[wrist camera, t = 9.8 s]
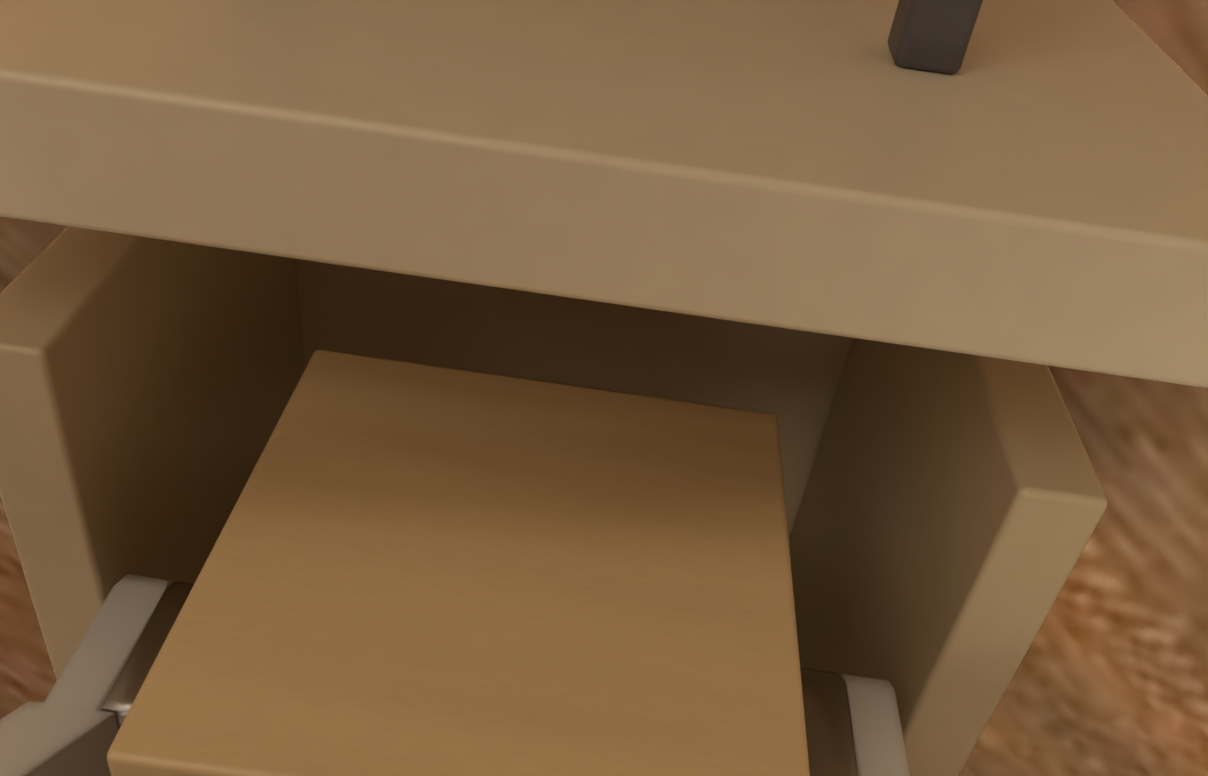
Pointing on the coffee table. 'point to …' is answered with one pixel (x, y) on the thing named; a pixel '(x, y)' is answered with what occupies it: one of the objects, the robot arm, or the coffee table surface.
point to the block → (486, 591)
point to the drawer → (611, 270)
